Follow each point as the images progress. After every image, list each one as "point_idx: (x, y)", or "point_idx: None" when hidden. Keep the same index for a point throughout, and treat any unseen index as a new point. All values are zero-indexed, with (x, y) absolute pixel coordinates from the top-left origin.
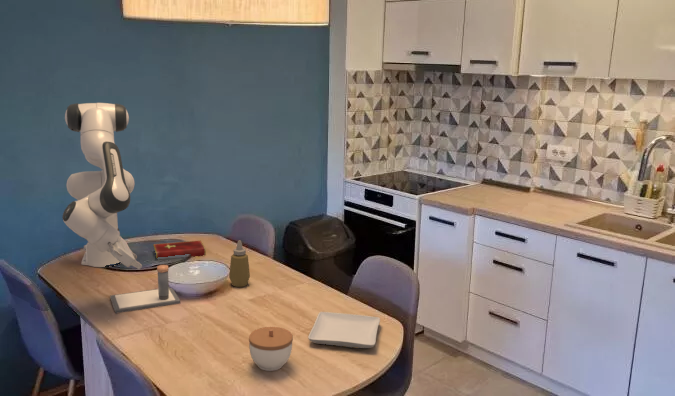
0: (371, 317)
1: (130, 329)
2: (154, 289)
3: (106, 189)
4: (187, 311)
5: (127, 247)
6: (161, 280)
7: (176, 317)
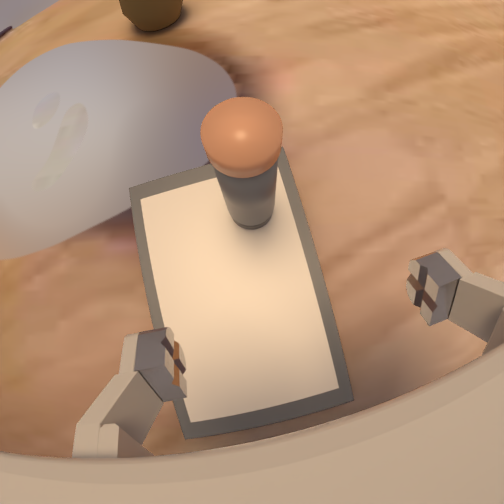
0: None
1: None
2: (141, 256)
3: None
4: (356, 131)
5: (339, 497)
6: (276, 176)
7: (403, 167)
